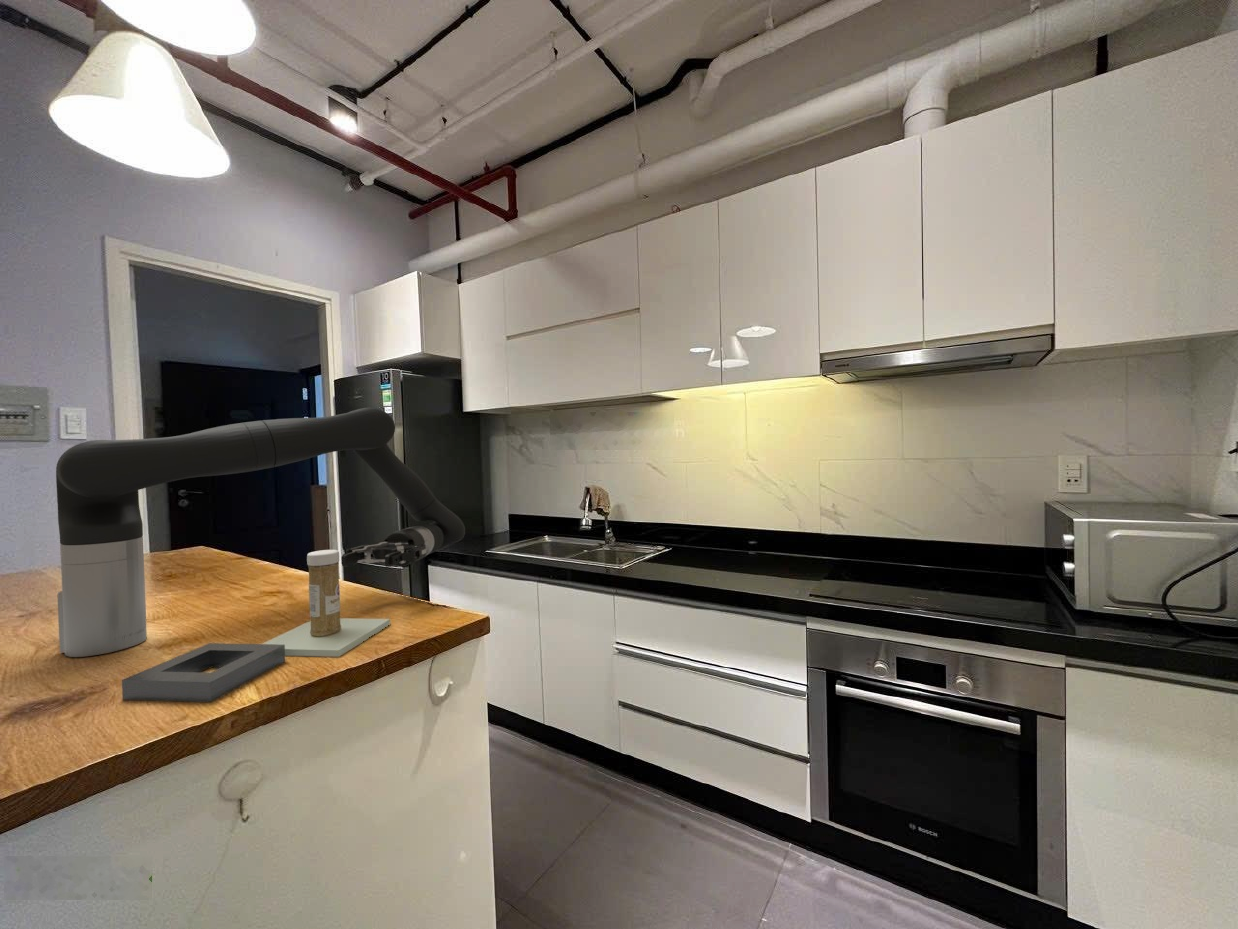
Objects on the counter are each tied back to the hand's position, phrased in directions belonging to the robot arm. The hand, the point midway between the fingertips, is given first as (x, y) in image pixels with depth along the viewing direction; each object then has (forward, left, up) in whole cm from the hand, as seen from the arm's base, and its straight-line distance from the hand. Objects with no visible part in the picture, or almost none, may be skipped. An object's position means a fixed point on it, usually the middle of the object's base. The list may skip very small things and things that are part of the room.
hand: (365, 561), depth 92 cm
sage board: (0, -11, -10) cm, 15 cm away
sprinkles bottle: (0, -11, -10) cm, 15 cm away
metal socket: (-6, -26, -10) cm, 29 cm away
